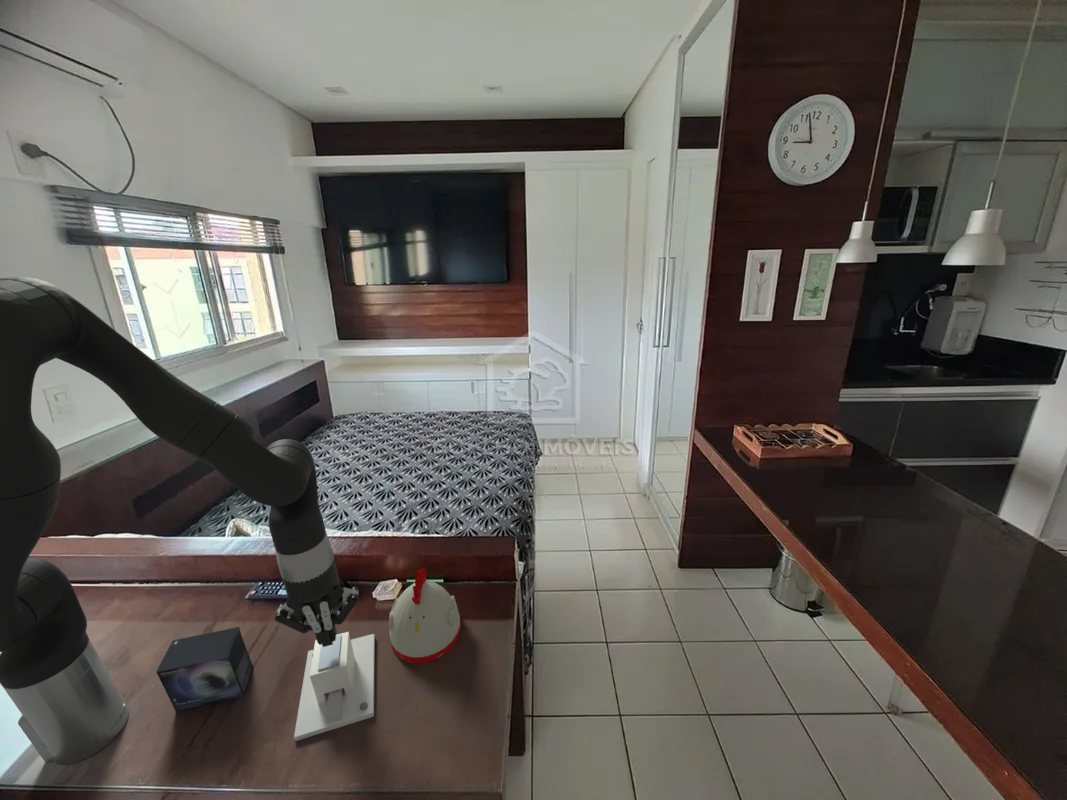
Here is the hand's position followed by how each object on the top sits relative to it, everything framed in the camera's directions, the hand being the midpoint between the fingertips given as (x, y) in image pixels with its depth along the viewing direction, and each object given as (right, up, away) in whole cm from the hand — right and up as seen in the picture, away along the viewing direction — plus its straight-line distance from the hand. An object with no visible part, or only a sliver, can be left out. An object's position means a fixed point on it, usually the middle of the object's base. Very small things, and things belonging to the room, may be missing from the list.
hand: (328, 641), depth 75 cm
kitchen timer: (+13, -6, +14) cm, 20 cm away
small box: (-22, -11, +3) cm, 24 cm away
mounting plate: (0, -10, +4) cm, 11 cm away
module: (0, -9, +4) cm, 10 cm away
